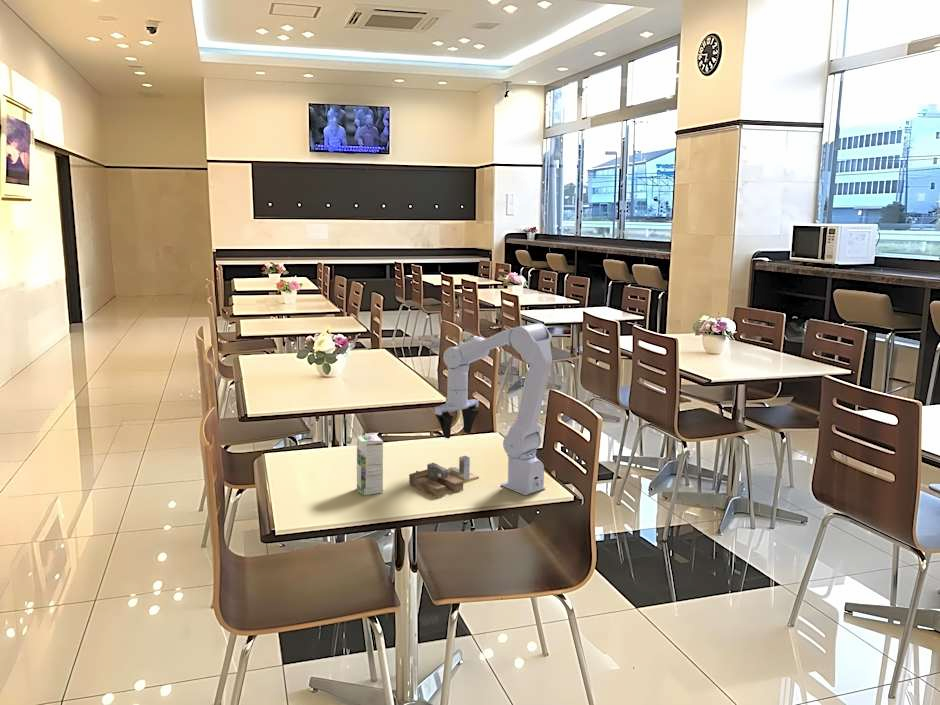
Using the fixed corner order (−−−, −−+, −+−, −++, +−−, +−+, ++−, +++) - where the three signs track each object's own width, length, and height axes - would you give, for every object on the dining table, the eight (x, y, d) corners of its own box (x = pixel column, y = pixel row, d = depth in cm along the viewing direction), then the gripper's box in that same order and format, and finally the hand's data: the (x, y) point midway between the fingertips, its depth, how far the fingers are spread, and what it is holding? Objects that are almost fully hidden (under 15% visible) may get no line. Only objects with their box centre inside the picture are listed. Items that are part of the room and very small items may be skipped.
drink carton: (356, 488, 204) (355, 435, 201) (377, 485, 206) (377, 433, 203) (362, 496, 199) (361, 442, 196) (384, 493, 201) (383, 439, 198)
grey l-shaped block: (469, 478, 211) (469, 457, 210) (463, 480, 210) (464, 459, 209) (453, 471, 216) (453, 451, 215) (447, 473, 215) (447, 452, 214)
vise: (463, 489, 204) (463, 468, 203) (437, 497, 198) (437, 475, 197) (429, 475, 214) (429, 454, 213) (404, 482, 209) (403, 461, 208)
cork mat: (478, 478, 213) (478, 476, 213) (456, 484, 208) (456, 483, 207) (455, 468, 220) (455, 467, 220) (433, 474, 215) (433, 473, 215)
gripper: (467, 382, 224) (467, 427, 226) (428, 389, 214) (428, 436, 217) (484, 386, 218) (483, 432, 221) (444, 394, 209) (444, 442, 212)
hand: (457, 435), depth 219 cm, fingers open, 7 cm apart
